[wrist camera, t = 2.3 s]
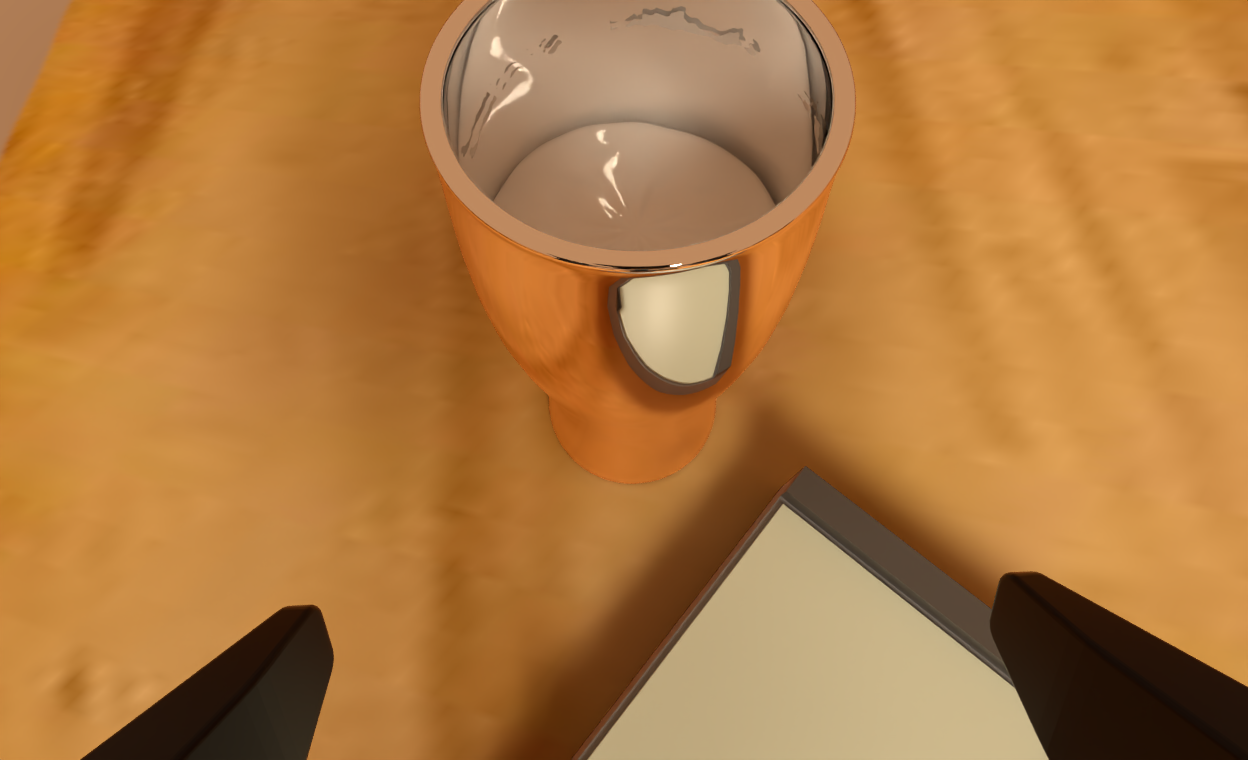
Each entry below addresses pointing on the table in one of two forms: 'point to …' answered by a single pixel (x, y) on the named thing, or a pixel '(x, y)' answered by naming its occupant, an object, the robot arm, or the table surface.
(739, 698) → the dock
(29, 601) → the table surface
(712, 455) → the table surface
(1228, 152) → the table surface
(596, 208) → the beer glass
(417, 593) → the table surface
